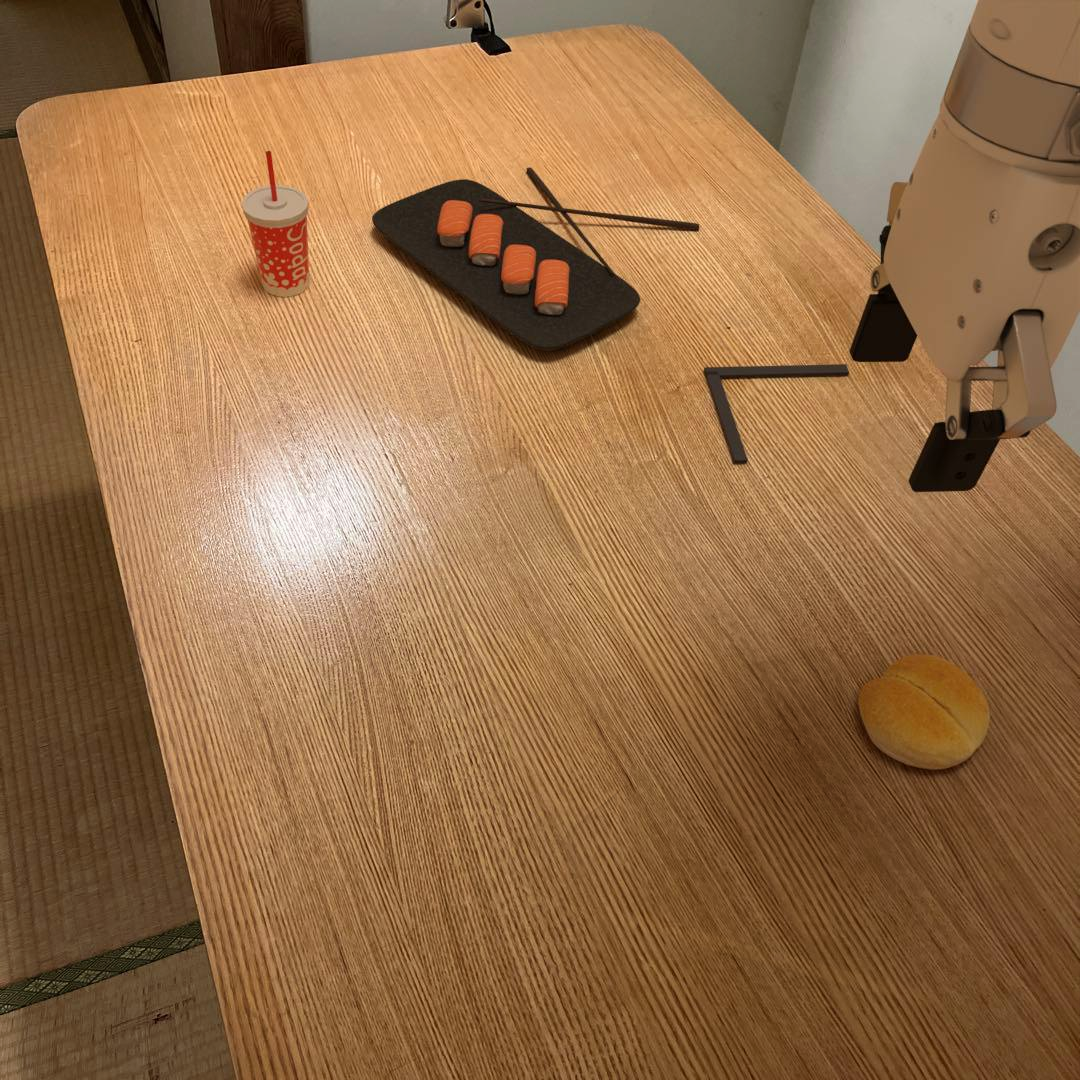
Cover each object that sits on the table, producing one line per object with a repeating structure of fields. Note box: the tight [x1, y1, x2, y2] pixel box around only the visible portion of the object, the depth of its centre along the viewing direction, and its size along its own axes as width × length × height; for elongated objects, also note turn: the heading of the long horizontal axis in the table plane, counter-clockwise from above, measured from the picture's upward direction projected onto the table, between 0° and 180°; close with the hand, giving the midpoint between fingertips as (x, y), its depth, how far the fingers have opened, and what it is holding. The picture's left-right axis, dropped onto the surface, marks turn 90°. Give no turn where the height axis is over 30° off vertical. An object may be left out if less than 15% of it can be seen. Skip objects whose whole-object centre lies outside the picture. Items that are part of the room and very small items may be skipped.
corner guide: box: [703, 363, 850, 465], centre depth 99 cm, size 14×13×1 cm
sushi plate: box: [371, 167, 700, 351], centre depth 113 cm, size 29×30×4 cm
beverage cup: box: [241, 150, 310, 298], centre depth 102 cm, size 6×6×14 cm
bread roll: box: [857, 653, 991, 771], centre depth 76 cm, size 8×9×4 cm
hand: (906, 419), depth 55 cm, fingers open, 9 cm apart
